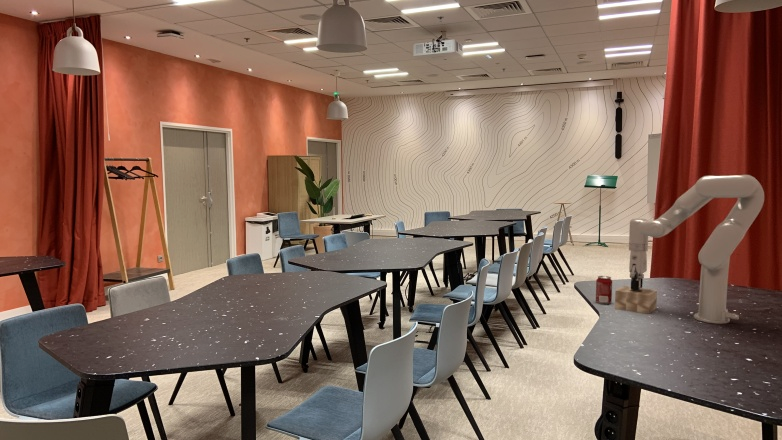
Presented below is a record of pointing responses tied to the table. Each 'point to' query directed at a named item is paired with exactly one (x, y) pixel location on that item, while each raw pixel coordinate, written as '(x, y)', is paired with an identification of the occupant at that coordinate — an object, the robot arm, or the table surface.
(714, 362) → the table surface
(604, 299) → the soda can
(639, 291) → the pin
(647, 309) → the block
